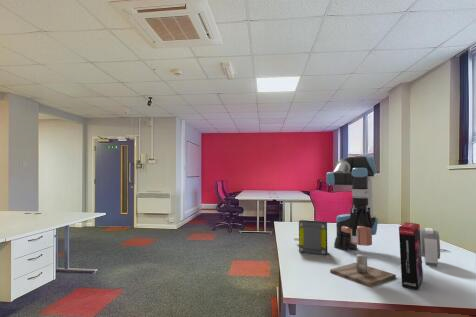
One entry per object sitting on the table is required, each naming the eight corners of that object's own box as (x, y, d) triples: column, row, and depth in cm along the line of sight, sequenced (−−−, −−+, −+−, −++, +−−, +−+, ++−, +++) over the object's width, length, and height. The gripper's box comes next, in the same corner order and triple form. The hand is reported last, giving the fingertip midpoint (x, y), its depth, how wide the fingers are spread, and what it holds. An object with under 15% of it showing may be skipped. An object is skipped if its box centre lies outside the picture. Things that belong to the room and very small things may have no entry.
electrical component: (298, 252, 176) (298, 221, 177) (300, 248, 185) (300, 219, 187) (326, 255, 169) (325, 223, 171) (327, 251, 178) (327, 221, 180)
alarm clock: (441, 269, 146) (439, 231, 147) (422, 266, 150) (421, 229, 152) (437, 260, 161) (436, 226, 162) (420, 258, 165) (419, 225, 167)
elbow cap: (375, 244, 136) (374, 228, 136) (364, 246, 131) (364, 229, 131) (348, 238, 149) (348, 223, 149) (337, 240, 144) (337, 225, 144)
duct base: (330, 272, 139) (329, 253, 140) (355, 265, 151) (355, 248, 152) (370, 287, 121) (369, 265, 121) (395, 277, 133) (395, 258, 133)
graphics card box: (418, 291, 117) (416, 228, 119) (400, 287, 121) (398, 226, 123) (423, 280, 130) (421, 223, 132) (406, 276, 134) (404, 221, 136)
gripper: (353, 198, 130) (354, 245, 128) (379, 197, 142) (380, 240, 140) (340, 197, 136) (341, 242, 134) (365, 196, 148) (366, 237, 146)
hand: (361, 241), depth 137 cm, fingers closed on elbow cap, 9 cm apart
